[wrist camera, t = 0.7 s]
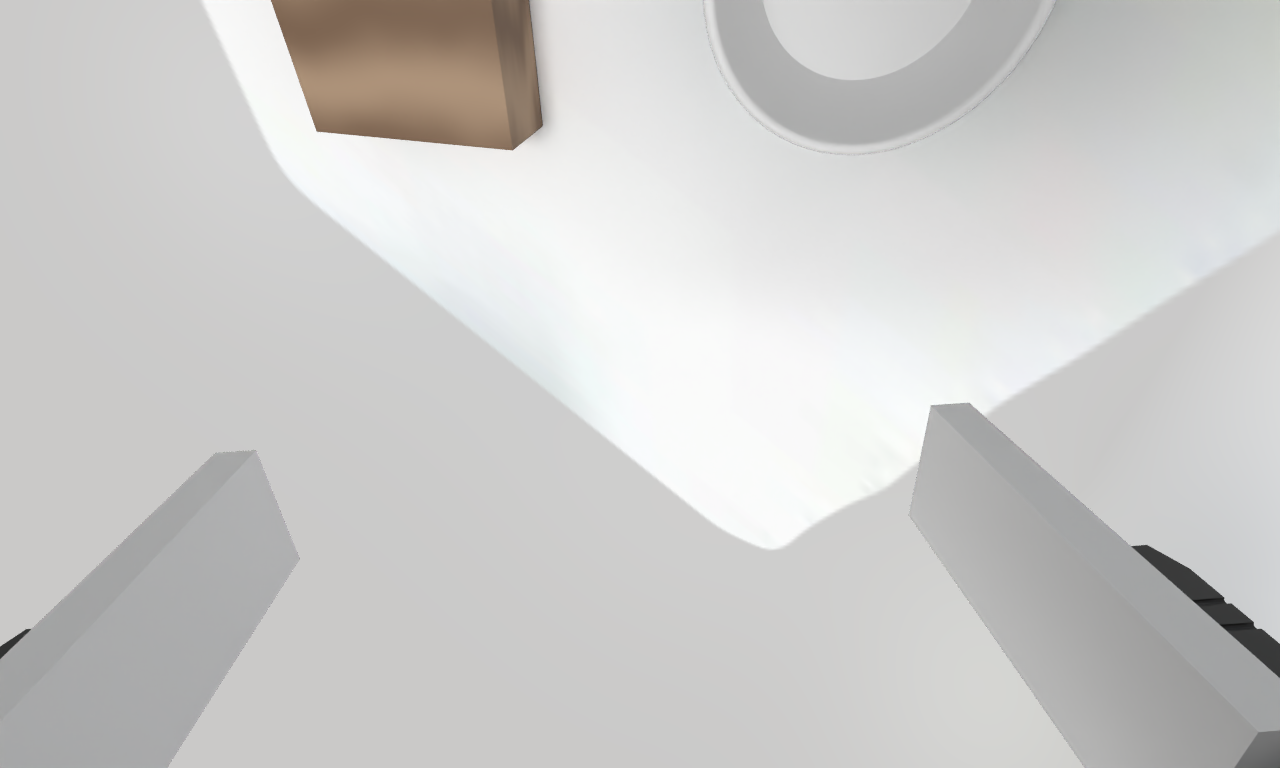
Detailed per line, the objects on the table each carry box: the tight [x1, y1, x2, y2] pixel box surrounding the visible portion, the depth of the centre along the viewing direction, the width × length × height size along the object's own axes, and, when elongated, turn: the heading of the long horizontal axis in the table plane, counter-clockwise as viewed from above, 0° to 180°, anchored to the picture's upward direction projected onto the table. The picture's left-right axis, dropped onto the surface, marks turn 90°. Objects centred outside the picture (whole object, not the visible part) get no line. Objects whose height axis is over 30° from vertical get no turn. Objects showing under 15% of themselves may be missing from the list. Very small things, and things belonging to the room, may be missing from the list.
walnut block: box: [271, 0, 542, 150], centre depth 30 cm, size 12×12×4 cm
